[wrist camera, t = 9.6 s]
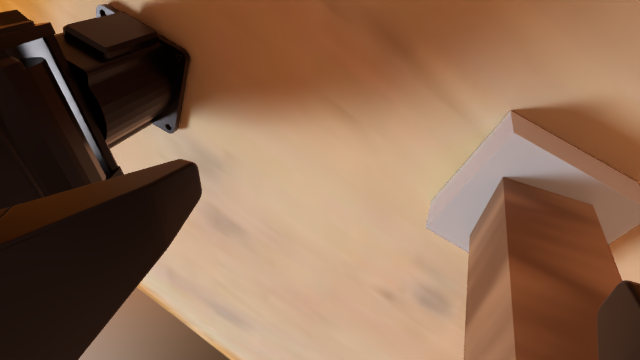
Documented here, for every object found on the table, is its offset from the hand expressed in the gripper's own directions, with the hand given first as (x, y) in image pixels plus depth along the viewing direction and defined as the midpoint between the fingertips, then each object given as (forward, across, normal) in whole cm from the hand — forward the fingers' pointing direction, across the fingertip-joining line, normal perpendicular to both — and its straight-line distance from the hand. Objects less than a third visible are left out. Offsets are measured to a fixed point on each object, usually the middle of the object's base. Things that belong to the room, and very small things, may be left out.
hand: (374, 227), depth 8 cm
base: (+13, -6, +6) cm, 16 cm away
